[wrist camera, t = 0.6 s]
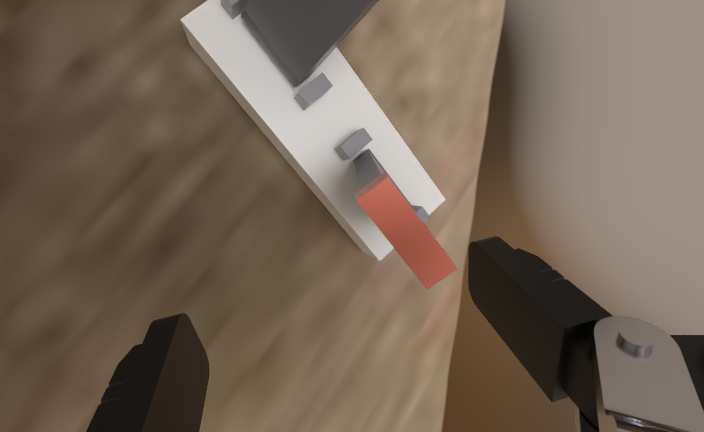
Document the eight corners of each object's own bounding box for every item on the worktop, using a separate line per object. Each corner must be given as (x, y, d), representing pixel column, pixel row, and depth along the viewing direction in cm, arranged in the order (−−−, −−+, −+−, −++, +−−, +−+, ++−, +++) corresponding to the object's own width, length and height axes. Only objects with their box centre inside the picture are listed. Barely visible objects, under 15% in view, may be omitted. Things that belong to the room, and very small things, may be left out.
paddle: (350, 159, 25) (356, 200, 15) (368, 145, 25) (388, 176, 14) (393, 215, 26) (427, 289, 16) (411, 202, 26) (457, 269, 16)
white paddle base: (189, 44, 25) (174, 4, 19) (267, -11, 26) (274, -63, 21) (362, 251, 30) (389, 266, 25) (420, 197, 31) (459, 200, 26)
